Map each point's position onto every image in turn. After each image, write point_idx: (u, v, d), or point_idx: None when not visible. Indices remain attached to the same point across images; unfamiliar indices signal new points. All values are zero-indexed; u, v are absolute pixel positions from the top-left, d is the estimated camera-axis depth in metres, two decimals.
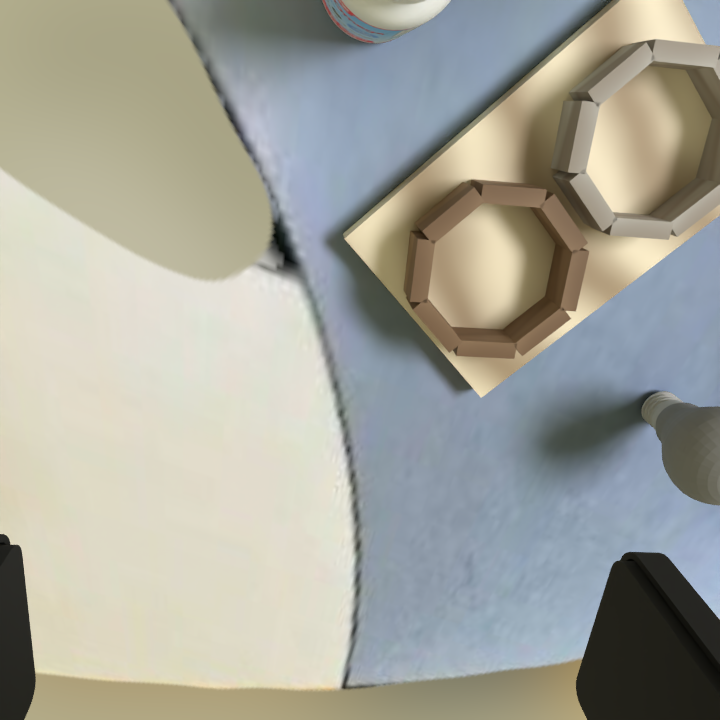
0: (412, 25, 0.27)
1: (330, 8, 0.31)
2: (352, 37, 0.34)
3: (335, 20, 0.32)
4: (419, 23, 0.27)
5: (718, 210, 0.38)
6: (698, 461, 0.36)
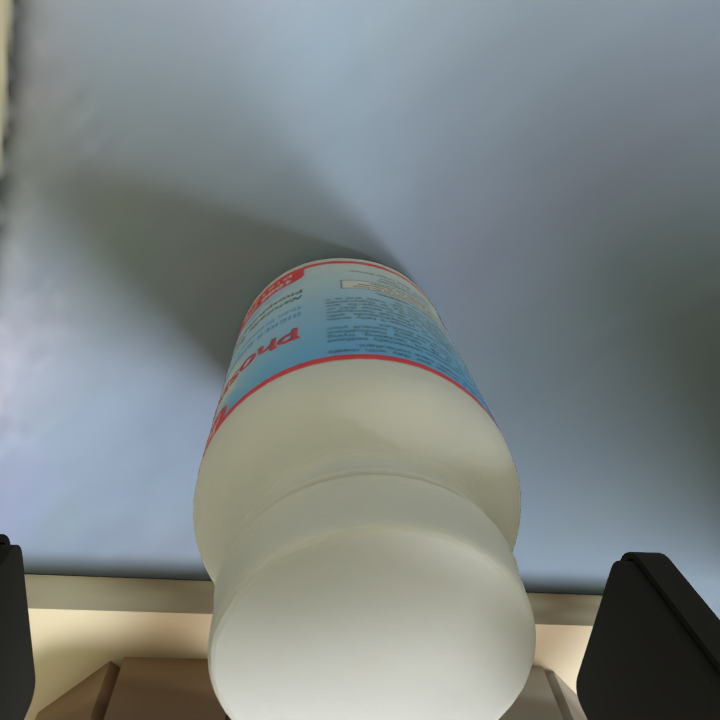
0: None
1: None
2: None
3: None
4: None
5: None
6: None
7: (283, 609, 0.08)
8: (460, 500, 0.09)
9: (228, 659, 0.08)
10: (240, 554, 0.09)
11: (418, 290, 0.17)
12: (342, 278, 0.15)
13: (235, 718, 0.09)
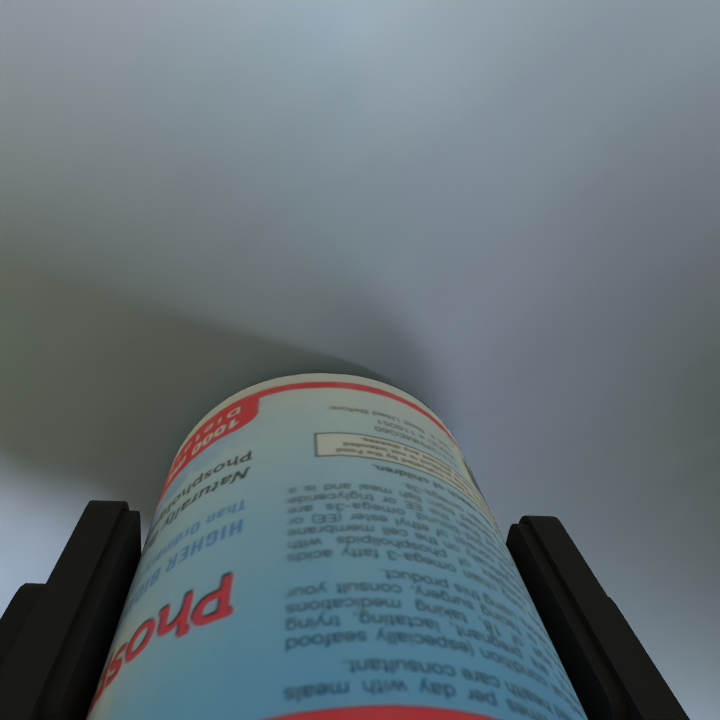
0: None
1: None
2: None
3: None
4: None
5: None
6: None
7: None
8: None
9: None
10: None
11: (434, 424, 0.11)
12: (317, 427, 0.09)
13: None
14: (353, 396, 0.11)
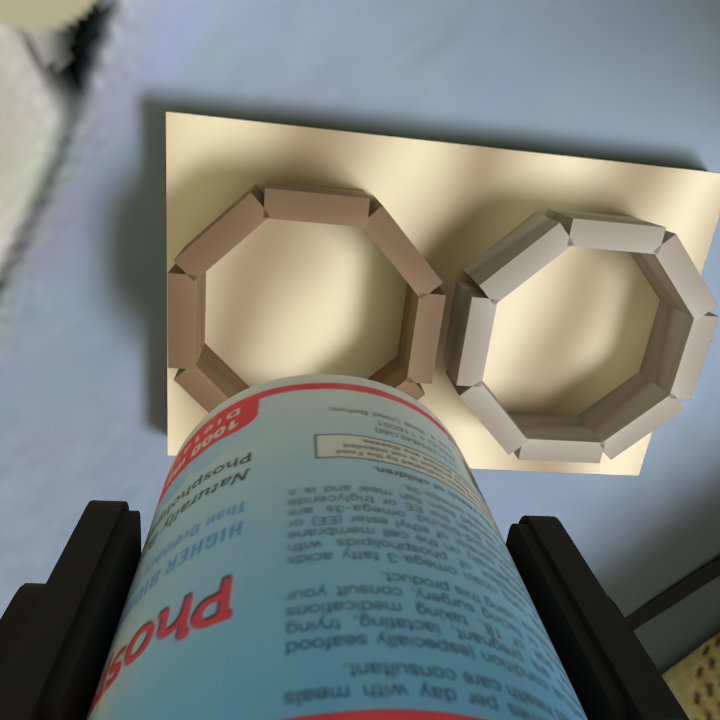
0: None
1: None
2: None
3: None
4: None
5: (567, 466, 0.30)
6: None
7: None
8: None
9: None
10: None
11: (434, 425, 0.11)
12: (318, 429, 0.09)
13: None
14: (353, 397, 0.11)
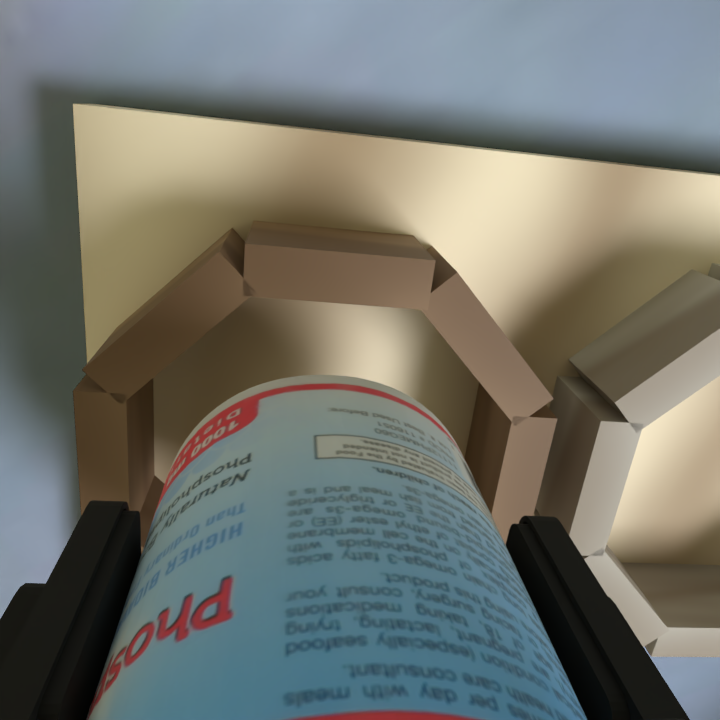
0: None
1: None
2: None
3: None
4: None
5: None
6: None
7: None
8: None
9: None
10: None
11: (434, 426, 0.11)
12: (317, 429, 0.09)
13: None
14: (353, 398, 0.11)
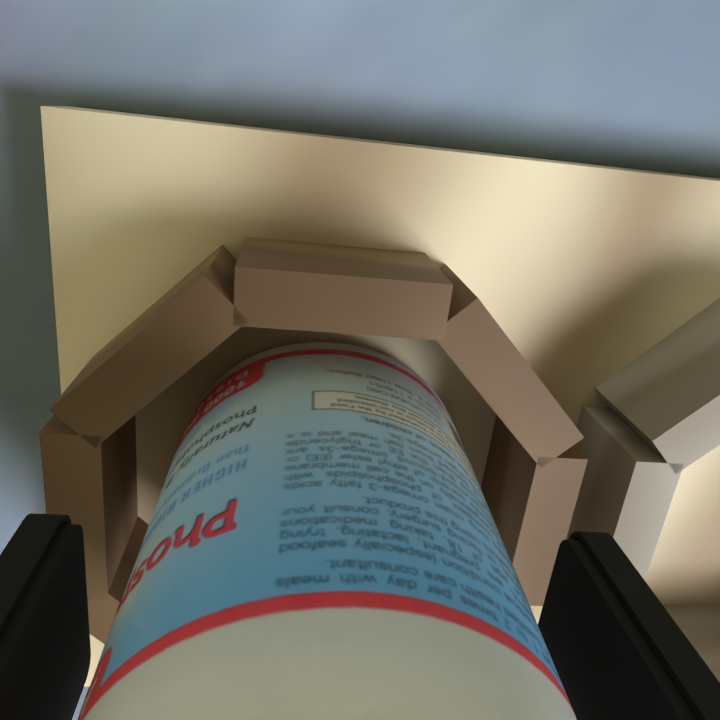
0: None
1: None
2: None
3: None
4: None
5: None
6: None
7: None
8: None
9: None
10: None
11: (423, 389, 0.12)
12: (315, 387, 0.11)
13: None
14: (349, 361, 0.12)
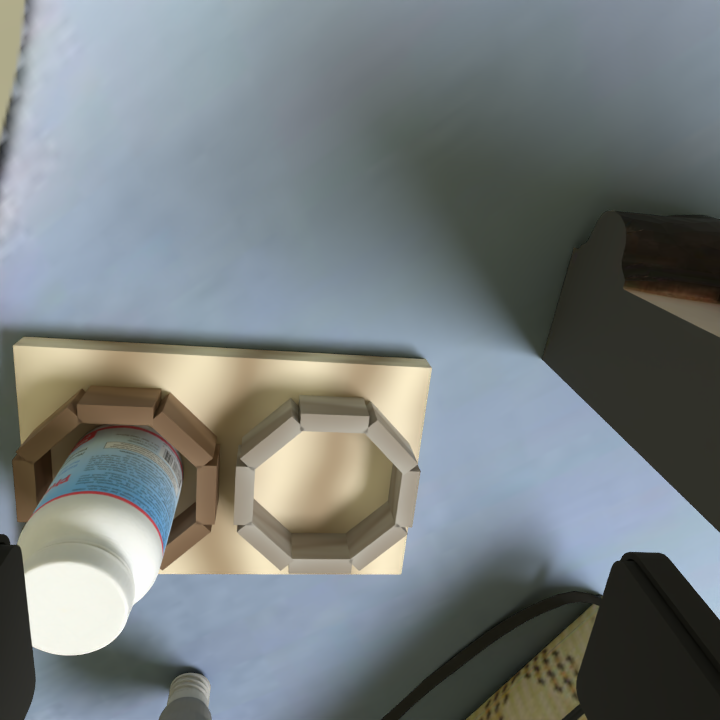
0: None
1: None
2: None
3: None
4: None
5: None
6: None
7: (29, 591, 0.24)
8: (100, 550, 0.25)
9: None
10: None
11: (158, 439, 0.33)
12: (108, 440, 0.31)
13: None
14: (127, 430, 0.33)
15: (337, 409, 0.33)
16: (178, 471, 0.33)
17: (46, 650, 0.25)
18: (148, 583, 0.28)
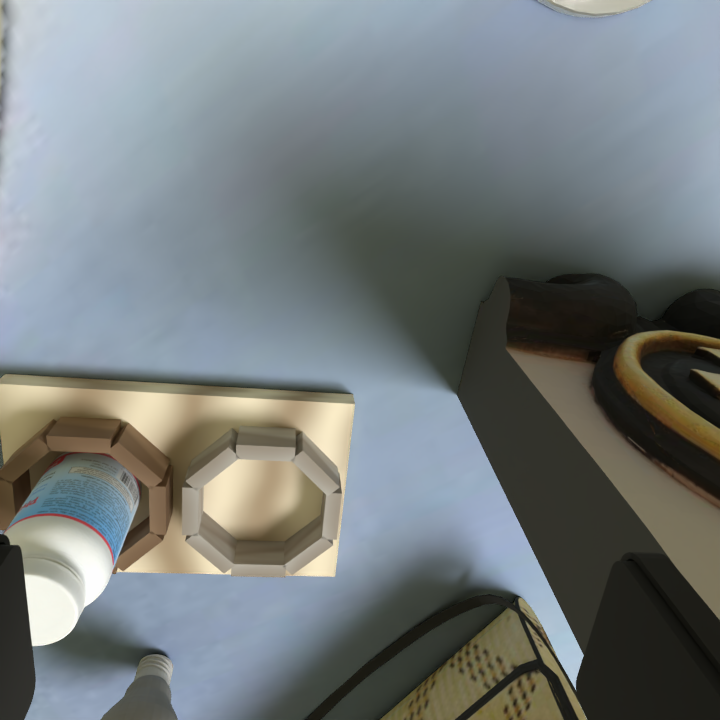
0: None
1: None
2: None
3: None
4: None
5: None
6: None
7: None
8: (55, 564, 0.31)
9: None
10: None
11: (117, 462, 0.39)
12: (73, 465, 0.37)
13: None
14: (91, 455, 0.39)
15: (269, 440, 0.39)
16: (134, 490, 0.39)
17: None
18: (99, 588, 0.34)
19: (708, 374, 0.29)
